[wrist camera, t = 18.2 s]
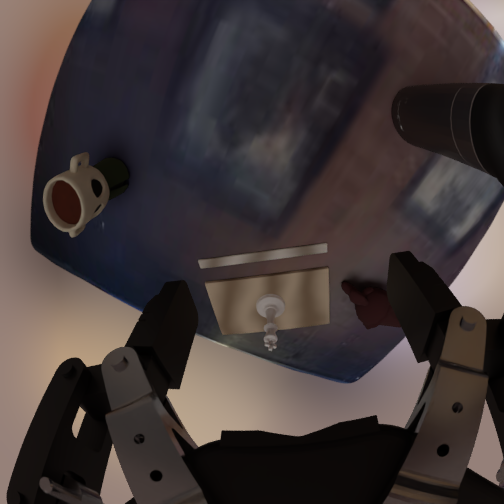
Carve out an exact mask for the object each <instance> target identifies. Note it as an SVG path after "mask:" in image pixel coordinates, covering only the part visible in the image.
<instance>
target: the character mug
mask: <svg viewBox="0 0 504 504" xmlns="http://www.w3.org/2000/svg"><path fill="white" fill-rule="evenodd" d="M80 161H82V162H81V165H80V166H78V163H79V162H80ZM88 164H89V154H88V153H87V152H84V153H81V154H79V155H76V156H73V157H72V159H71V164H70V170H68V171H66V172H64V173H61V174H59V175H57V176H55V177H54V178H53V179H51V180H50V181H48V183H47V185H46V187H45V189H44V195H43V203H44V209H45V211H46V214H47V216H48V218H49V220H50V221H51V222H52V223H53V225H54V226H55V227H56V228H58V229H60V230H61V231H63V232H69V234H70V236H71V237H75V236H77V235H78V234H79V233H80V232H82V231H83V230H84V229H85V224H86V223H88V221H90V220H91V219H92V218H94V217H96V216H97V215H98V214H99V213H100V212H101V211H102V210H103V209H104V207H105V206H106V204H107V202H108V200H110V199H112V198H114V197H116V196H118V195H120V194H122V193H124V191H125V190H126V188H127V187H128V184H127V185H125V186H123V184H124V181H125V180H127V179H129V174H128V171H127V168H126V166H125V165H124V164H123V163H122V161H120V160H118V159H115V158H105V159H103V160H102V161H100V162H99V163H97V164H96V165H94V166H93V167H92V166H90V165H88Z"/></svg>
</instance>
